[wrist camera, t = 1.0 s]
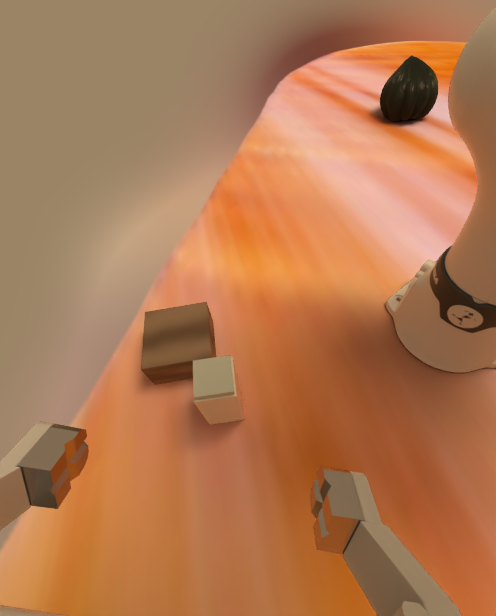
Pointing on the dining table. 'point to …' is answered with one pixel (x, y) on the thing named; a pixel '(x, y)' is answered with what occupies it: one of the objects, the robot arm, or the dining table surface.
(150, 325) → the walnut block
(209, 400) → the tall cream box
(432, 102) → the squash
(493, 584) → the dining table surface
